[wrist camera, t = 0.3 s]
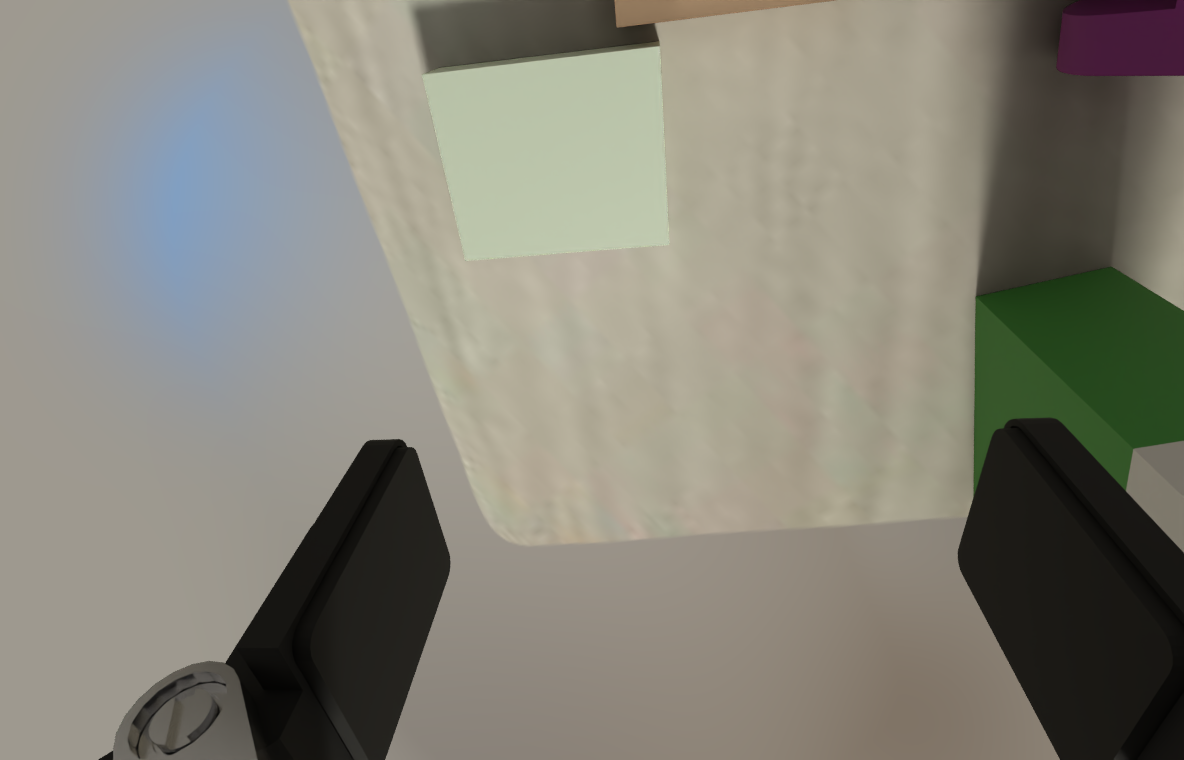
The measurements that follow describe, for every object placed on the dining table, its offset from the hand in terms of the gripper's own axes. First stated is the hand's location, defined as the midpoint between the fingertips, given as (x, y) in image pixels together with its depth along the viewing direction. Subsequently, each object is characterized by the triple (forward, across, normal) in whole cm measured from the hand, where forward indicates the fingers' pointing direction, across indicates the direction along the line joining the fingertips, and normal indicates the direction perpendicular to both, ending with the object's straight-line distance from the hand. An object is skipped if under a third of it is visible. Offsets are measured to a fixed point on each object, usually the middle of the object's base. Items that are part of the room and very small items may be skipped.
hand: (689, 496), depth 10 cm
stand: (+29, +6, 0) cm, 30 cm away
